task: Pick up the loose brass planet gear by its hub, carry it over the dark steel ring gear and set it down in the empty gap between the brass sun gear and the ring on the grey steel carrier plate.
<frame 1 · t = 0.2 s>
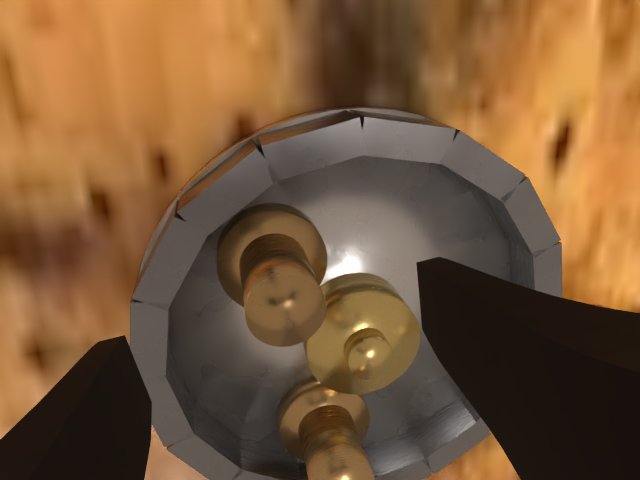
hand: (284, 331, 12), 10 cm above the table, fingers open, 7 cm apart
carrier: (347, 311, 24), on the table
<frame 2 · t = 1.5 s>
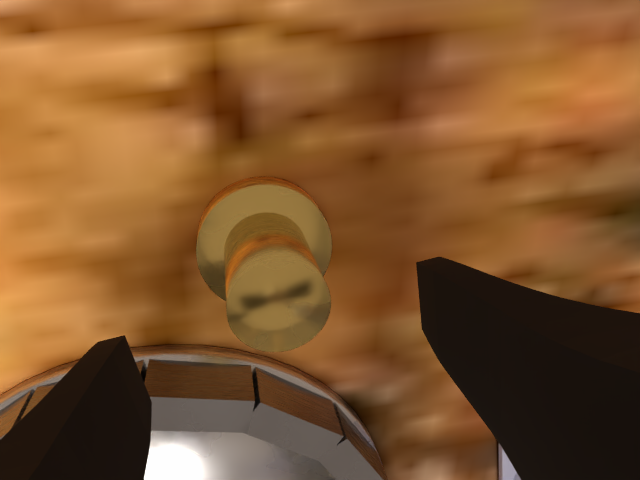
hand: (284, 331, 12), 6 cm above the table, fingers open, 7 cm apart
planet gear: (262, 238, 17), on the table
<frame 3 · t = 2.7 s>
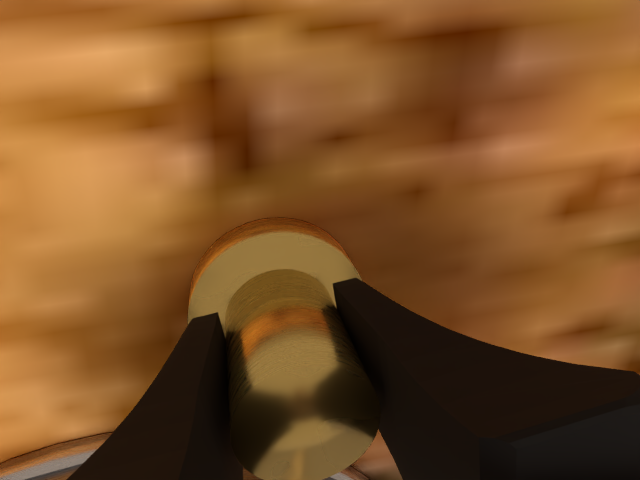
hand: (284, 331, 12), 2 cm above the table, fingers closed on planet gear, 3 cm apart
planet gear: (275, 295, 13), on the table, touching gripper
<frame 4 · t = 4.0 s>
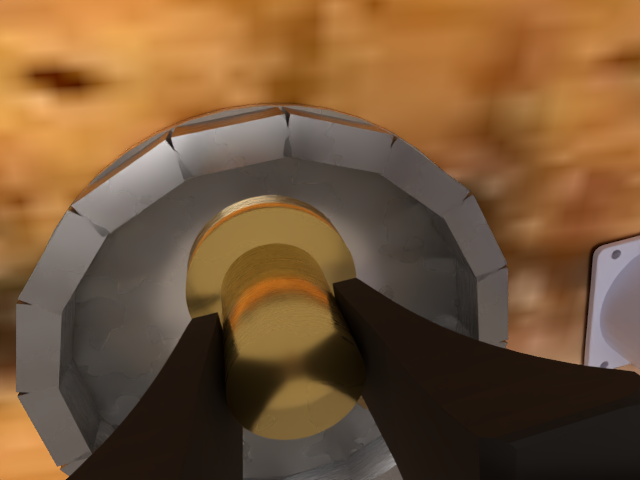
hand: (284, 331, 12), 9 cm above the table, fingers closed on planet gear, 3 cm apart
planet gear: (269, 270, 14), point 6 cm above the table, touching gripper
carrier: (278, 327, 22), on the table
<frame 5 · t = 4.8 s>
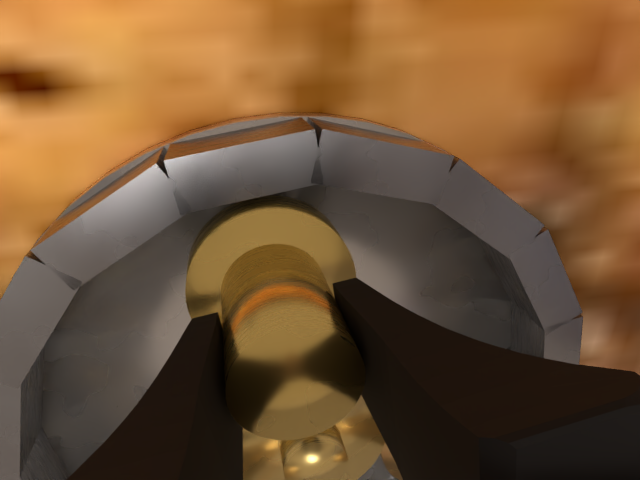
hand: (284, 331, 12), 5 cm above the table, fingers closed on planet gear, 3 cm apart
planet gear: (268, 270, 14), point 2 cm above the table, touching gripper
carrier: (295, 382, 18), on the table
when the fingers open (4 cm above the table, at t = 5.3 s): planet gear stays where it is, resting on carrier.
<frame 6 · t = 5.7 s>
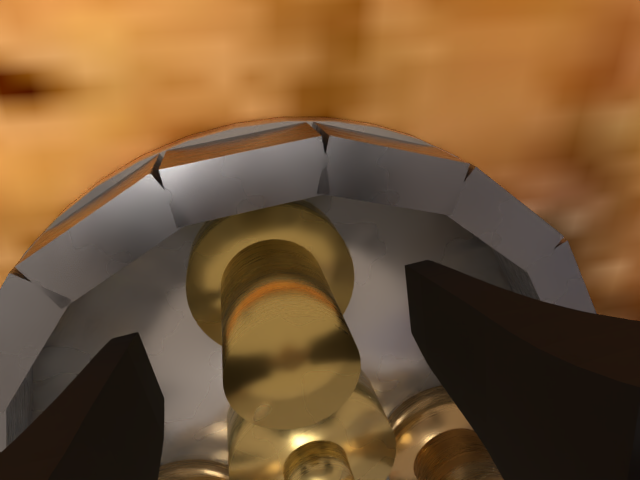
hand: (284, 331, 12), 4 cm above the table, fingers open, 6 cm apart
planet gear: (268, 267, 14), point 1 cm above the table, touching carrier
carrier: (299, 398, 17), on the table
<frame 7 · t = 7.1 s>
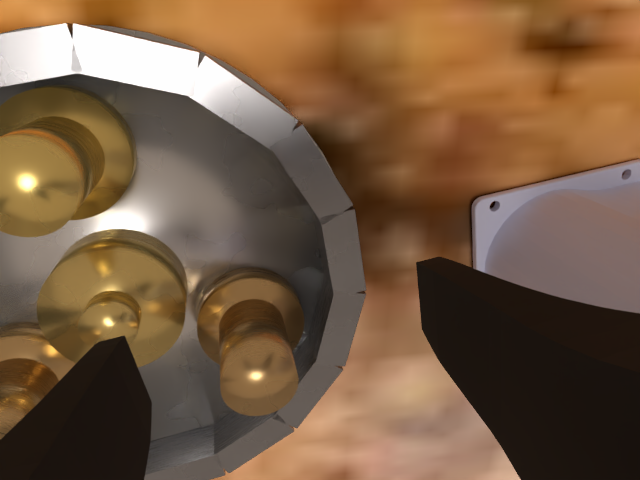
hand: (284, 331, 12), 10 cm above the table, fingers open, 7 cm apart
planet gear: (70, 150, 17), point 1 cm above the table, touching carrier
carrier: (126, 278, 21), on the table
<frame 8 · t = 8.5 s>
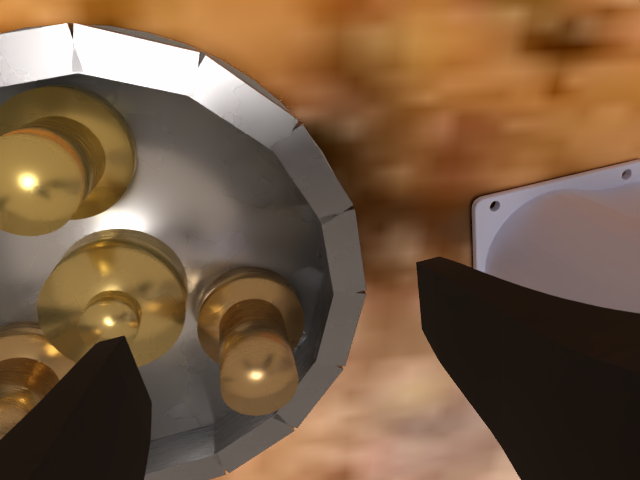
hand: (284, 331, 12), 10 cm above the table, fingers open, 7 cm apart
planet gear: (71, 149, 17), point 1 cm above the table, touching carrier
carrier: (126, 277, 21), on the table
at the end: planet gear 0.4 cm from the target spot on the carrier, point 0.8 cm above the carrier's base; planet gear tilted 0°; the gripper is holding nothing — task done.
